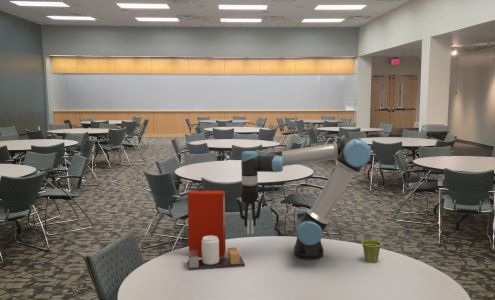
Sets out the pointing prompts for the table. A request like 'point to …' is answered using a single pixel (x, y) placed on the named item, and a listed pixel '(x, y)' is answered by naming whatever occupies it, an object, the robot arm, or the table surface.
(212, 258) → the beverage can
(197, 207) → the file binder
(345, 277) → the table surface
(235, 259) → the block
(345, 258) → the table surface
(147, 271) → the table surface
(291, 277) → the table surface
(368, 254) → the plant pot
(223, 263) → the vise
